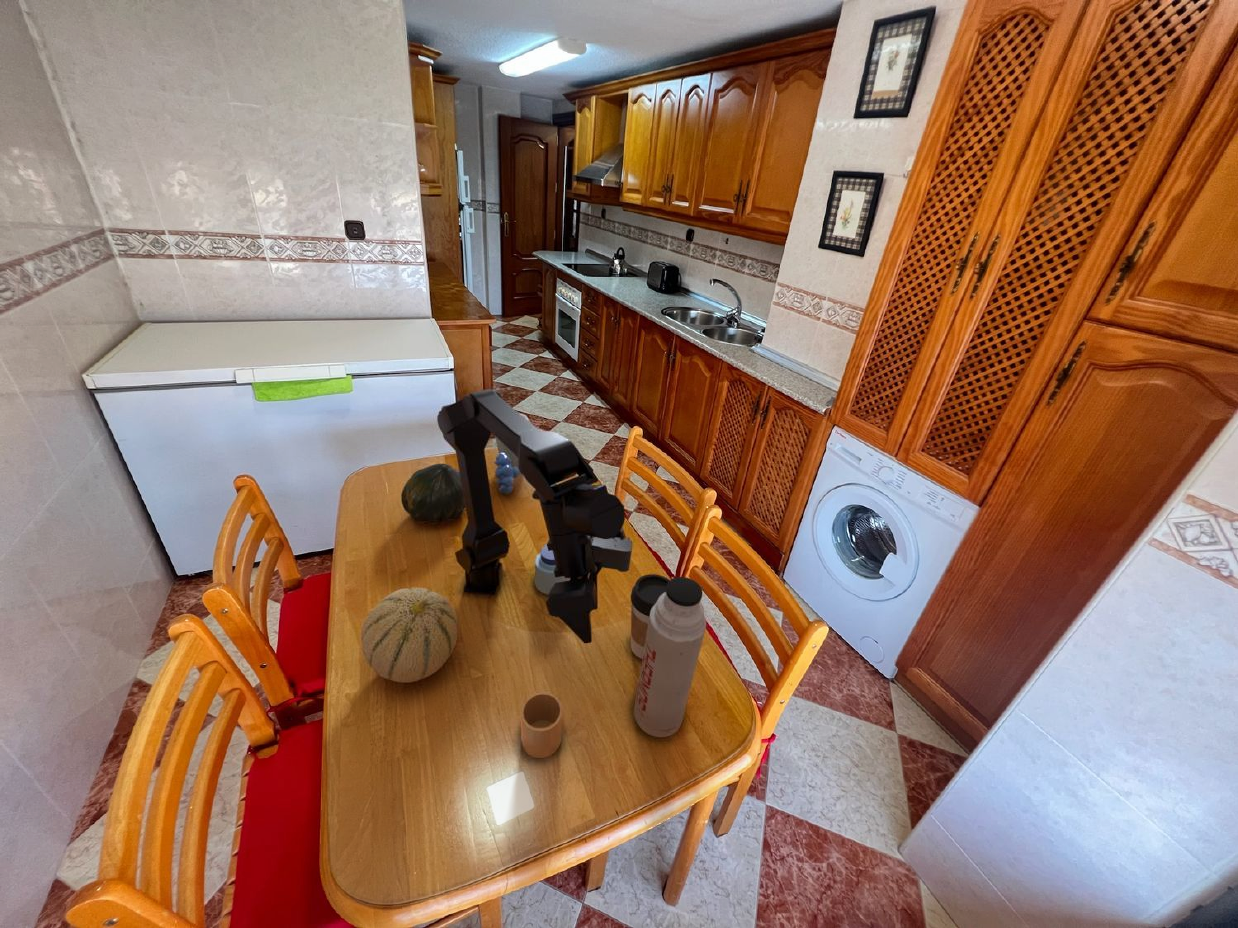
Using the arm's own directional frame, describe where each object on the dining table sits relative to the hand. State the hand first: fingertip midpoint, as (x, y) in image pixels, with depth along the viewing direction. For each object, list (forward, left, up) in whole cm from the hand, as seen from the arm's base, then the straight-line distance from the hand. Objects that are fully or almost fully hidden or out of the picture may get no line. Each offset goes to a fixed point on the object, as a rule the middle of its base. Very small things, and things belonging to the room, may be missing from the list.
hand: (591, 624), depth 74 cm
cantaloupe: (-30, +3, -17) cm, 34 cm away
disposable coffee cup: (-29, +69, -17) cm, 77 cm away
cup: (-6, -8, -17) cm, 20 cm away
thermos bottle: (+12, -2, -17) cm, 21 cm away
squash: (-41, +44, -17) cm, 63 cm away
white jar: (-10, +25, -17) cm, 32 cm away
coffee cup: (+10, +11, -17) cm, 23 cm away
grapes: (-27, +56, -17) cm, 64 cm away
